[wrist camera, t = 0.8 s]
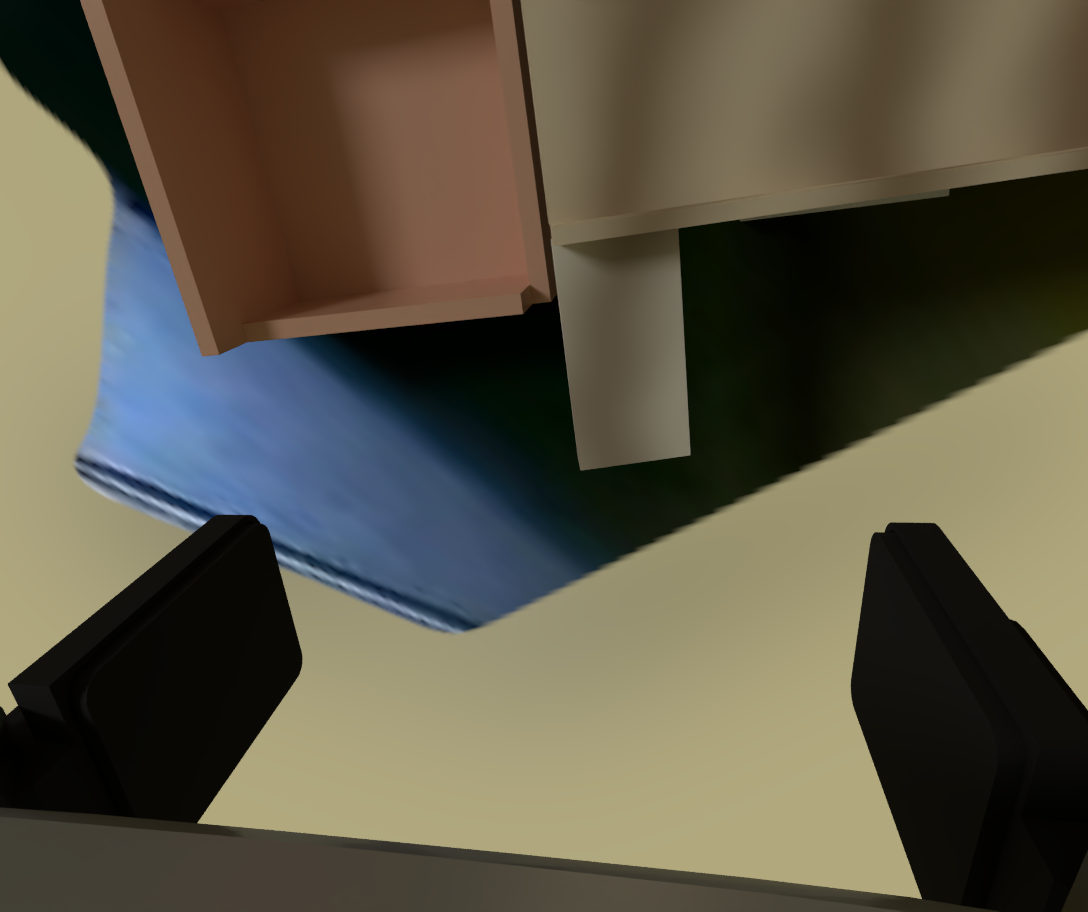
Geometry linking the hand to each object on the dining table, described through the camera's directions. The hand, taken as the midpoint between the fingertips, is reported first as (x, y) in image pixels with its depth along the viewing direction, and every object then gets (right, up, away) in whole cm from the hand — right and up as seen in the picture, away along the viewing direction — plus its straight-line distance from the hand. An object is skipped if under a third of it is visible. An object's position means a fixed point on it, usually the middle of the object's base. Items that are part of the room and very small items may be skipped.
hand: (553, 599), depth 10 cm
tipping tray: (+11, +12, +13) cm, 21 cm away
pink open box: (-7, +16, +20) cm, 27 cm away
